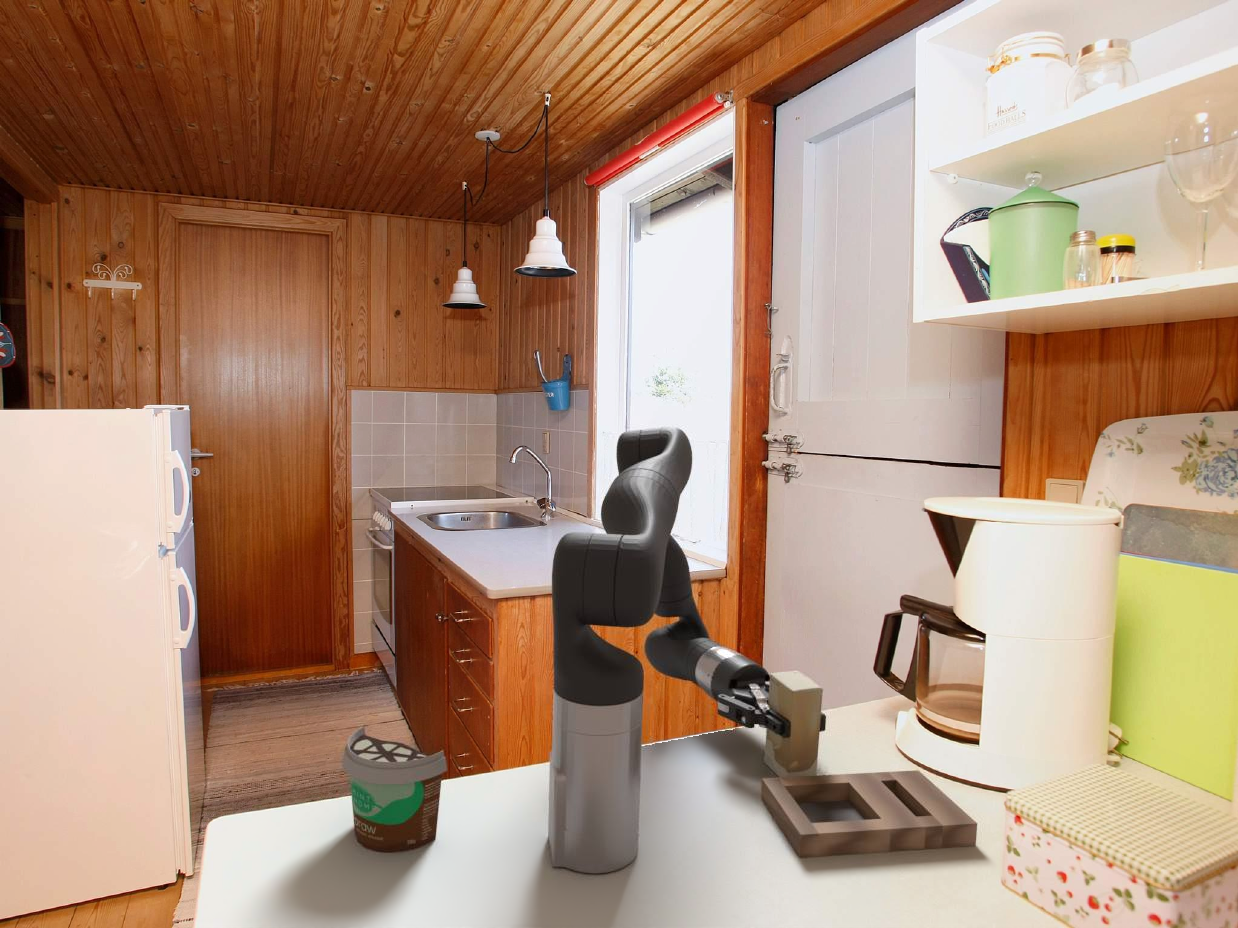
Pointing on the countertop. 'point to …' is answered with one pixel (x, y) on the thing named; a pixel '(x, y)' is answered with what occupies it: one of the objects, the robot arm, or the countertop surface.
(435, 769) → the food container
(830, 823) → the socket plate
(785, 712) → the skincare box
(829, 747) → the countertop surface
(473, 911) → the countertop surface
